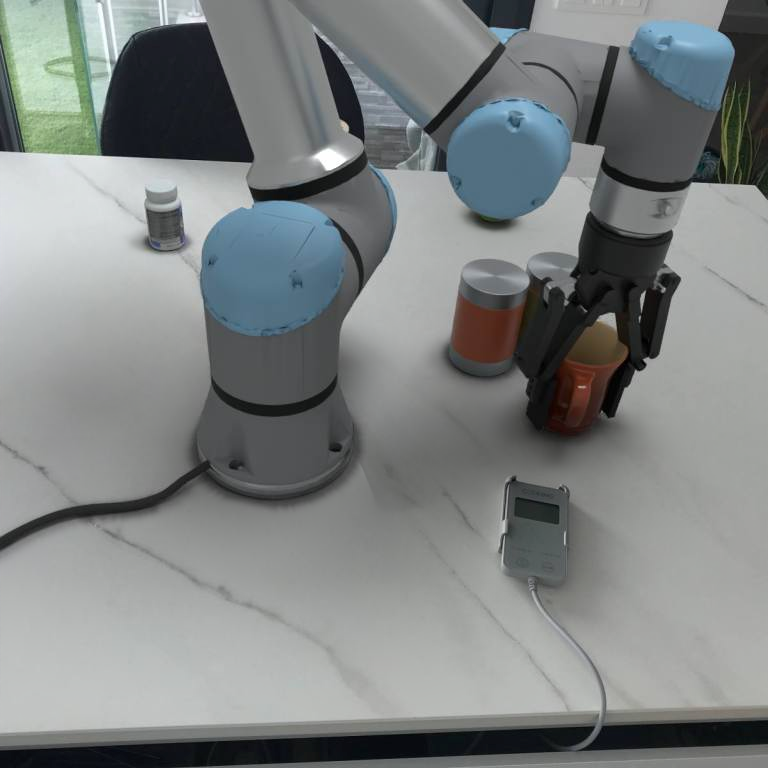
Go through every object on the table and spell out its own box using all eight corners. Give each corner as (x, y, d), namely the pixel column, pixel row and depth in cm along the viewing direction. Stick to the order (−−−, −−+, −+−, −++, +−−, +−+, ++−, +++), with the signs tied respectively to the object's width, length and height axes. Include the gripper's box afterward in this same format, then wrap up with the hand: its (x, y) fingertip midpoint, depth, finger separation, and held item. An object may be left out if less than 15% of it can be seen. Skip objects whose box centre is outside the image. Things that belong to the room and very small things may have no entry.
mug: (523, 384, 87) (542, 308, 81) (601, 398, 86) (627, 323, 80) (516, 457, 78) (537, 377, 71) (603, 474, 77) (633, 395, 70)
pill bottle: (191, 246, 105) (185, 189, 100) (157, 254, 103) (150, 196, 98) (177, 231, 108) (171, 174, 103) (144, 238, 106) (136, 181, 101)
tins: (463, 381, 87) (477, 298, 80) (438, 342, 92) (450, 262, 85) (583, 362, 91) (607, 282, 84) (554, 326, 97) (574, 248, 90)
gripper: (546, 252, 61) (496, 457, 76) (755, 230, 67) (672, 423, 82) (505, 208, 67) (466, 407, 81) (702, 191, 73) (633, 379, 87)
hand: (569, 415), depth 81 cm, fingers closed on mug, 8 cm apart
